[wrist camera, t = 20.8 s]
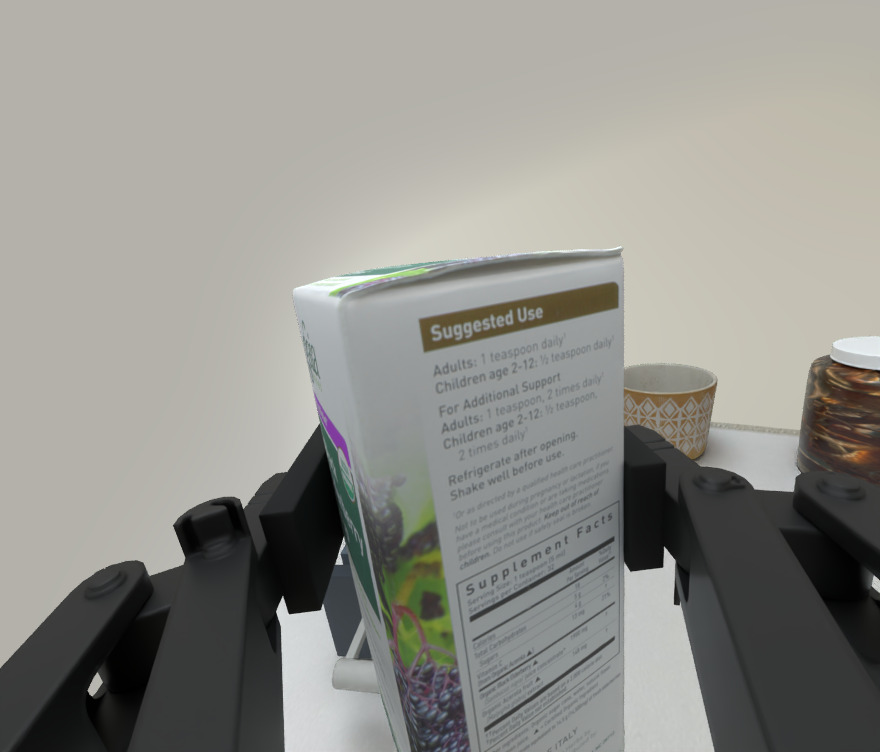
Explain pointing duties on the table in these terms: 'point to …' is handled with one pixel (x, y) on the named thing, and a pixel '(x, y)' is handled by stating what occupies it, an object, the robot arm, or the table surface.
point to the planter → (671, 403)
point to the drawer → (348, 632)
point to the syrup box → (482, 491)
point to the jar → (843, 411)
